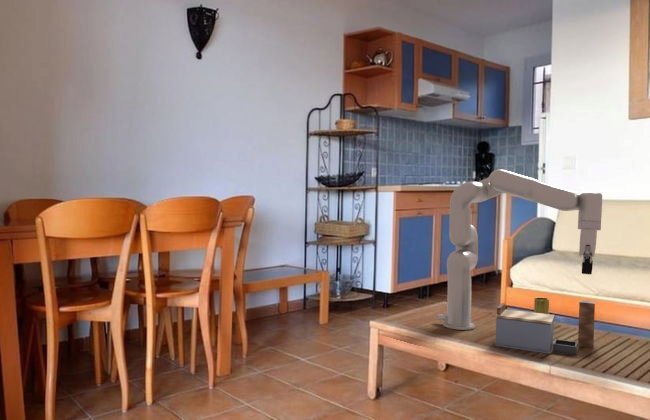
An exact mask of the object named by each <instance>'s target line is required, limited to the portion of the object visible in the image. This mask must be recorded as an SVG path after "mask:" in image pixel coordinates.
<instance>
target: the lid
mask: <svg viewBox="0 0 650 420" xmlns="http://www.w3.org/2000/svg"><path fill="white" fill-rule="evenodd" d="M555 316H556V315H555V314H550V313H549V314H542V313H534V311H533V312H531V311H525V310H523V311H522V310H514V309H507V308H506V303H505V302H502V303H500V304H499V305H498V306H497V307H496V314H495V316H494V317H495V319H496V318H505V319H513V320H521V321H529V322H537V323H545V324H552V322H553V320H555Z"/></svg>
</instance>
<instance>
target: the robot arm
mask: <svg viewBox="0 0 650 420" xmlns="http://www.w3.org/2000/svg"><path fill="white" fill-rule="evenodd" d="M501 194H508V195H511V196H513V197H517V198H520V199H523V200H526V201H528V202H532V203H537V204H540V205H542V206H547V207H550V208H553V209H556V210H559V211H563V212H570V211H571V212H572V211H578V215H577V230H580V233H579V234H580V235H579V249H578V256H579V257H582V256H583V257H582V262H581V274H582V275H592V274H593V263H594V262H593V258H594V257H595V254H596V249H597V248H596V247H597V235H598V234H597V233H598V231H601V230H602V229H601V228H602V212H603V210H602V209H603V194H602V193H601V192H599V191H598V192H597V191H582V192H579V191H572V190H568V189H564V188H560V187H557V186H553V185H549V184H547V183H544V182H541V181H539V180H538V179H535V178H533V177H528V176H525V175H522V174H518V173H515V172H512V171H508V170H506V169H500V168H499V169H495V170H493V171H492V172H490V174H489V176H488V177H486V178H483V179H482V180H479V181H466V182H464V183H462V184H460V185H459V186H457V187H456V188H455V189H454V190H453V192H452V193H451V195H450V199H449V228H448V229H449V230H448V231H449V235H448V237H449V241H450V243H451V244H452V245H454V246H455V250H454V251H452V252H450V254H449V255H448V256H447V259H446V272H447V274H446V275H447V299H446V300H447V302H446V304H447V305H446V313H445V314H441V313H437V314H436V319H438V320H441V321H442V320H443V322H442V327H445V328H447V329H452V330H459V331H460V330H461V331H469V330H473V329H474V328H475V324H474V323H473V322H472V321H471V320H472V319H471V318H472V316H471V315H472V272H471V271H472V270H473V269H474V268H475V267H476V266H477V264H478V259H479V237H478V230H477V229H476V227H475V226H474V225H472V212H471V211H472V210H471V205H472V204H474V203H476V204H477V203H482V202H486V201H487V200H490V199H492V198H494V197H496V196H499V195H501Z"/></svg>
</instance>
